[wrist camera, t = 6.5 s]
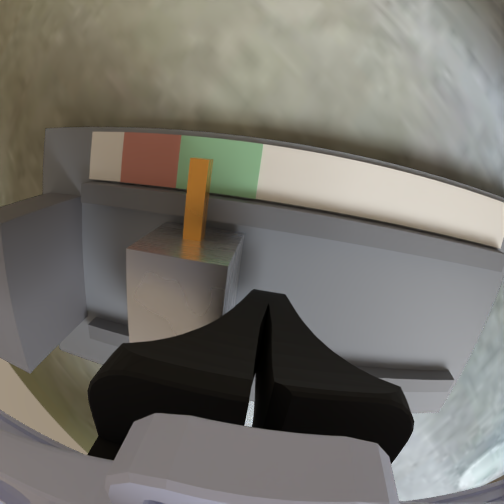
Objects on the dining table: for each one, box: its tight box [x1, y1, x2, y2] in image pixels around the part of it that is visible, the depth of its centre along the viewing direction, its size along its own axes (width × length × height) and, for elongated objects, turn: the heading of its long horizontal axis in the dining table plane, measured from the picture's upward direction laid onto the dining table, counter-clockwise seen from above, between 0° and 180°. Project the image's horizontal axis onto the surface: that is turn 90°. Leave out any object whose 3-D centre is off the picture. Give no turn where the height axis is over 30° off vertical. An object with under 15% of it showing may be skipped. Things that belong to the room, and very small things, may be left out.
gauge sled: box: [126, 157, 244, 343], centre depth 11 cm, size 8×3×4 cm, turn 172°
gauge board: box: [0, 127, 504, 413], centre depth 11 cm, size 12×22×6 cm, turn 82°
